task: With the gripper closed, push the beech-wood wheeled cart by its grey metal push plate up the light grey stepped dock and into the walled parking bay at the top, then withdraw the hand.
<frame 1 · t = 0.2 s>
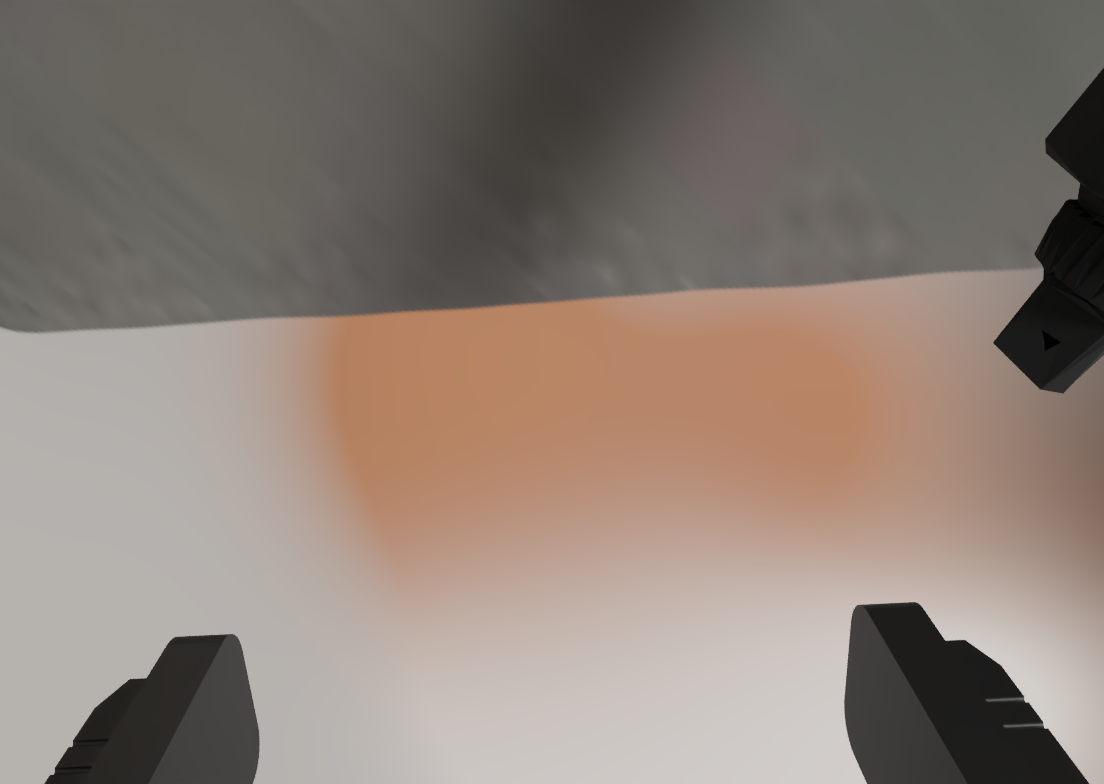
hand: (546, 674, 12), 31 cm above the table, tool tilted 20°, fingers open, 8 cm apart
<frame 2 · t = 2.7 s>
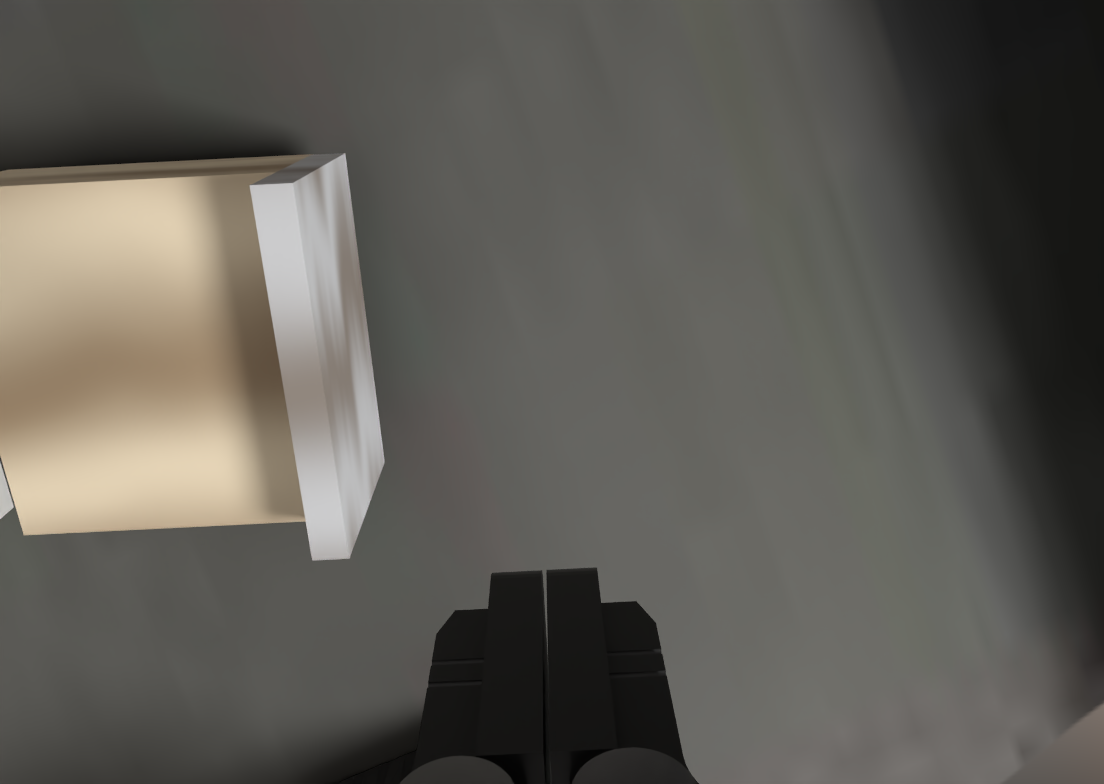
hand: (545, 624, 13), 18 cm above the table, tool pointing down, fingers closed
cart: (181, 347, 26), point 4 cm above the table, slide at 0.0 cm
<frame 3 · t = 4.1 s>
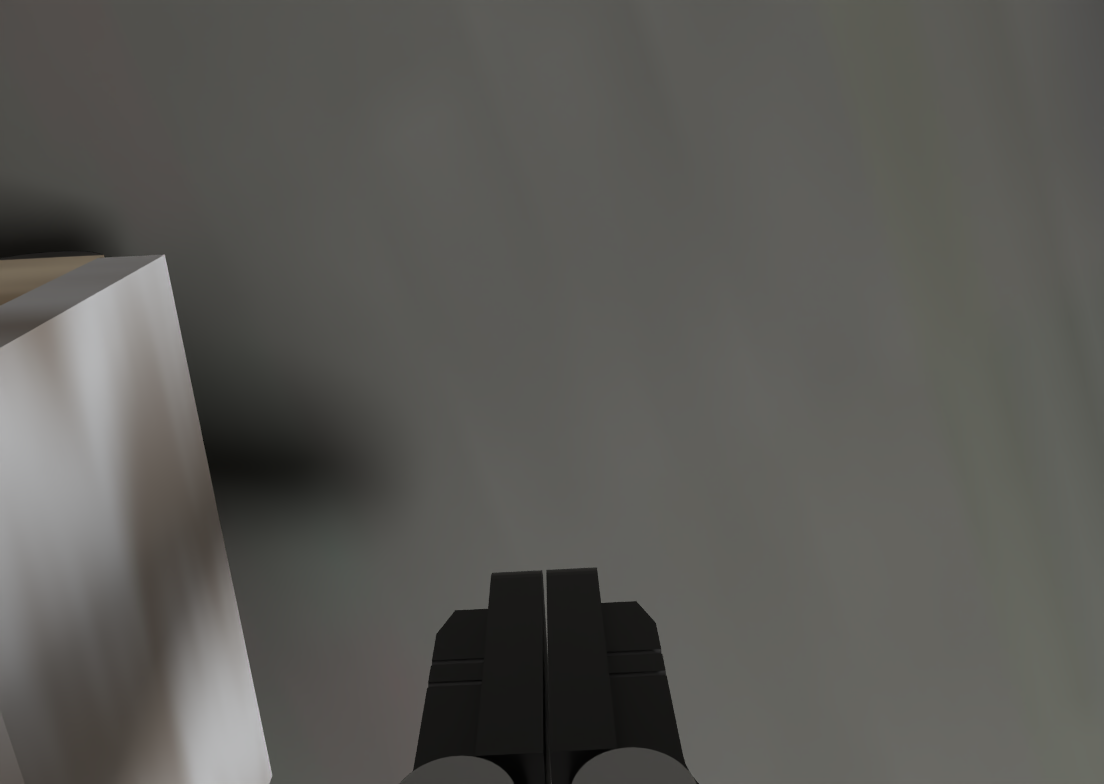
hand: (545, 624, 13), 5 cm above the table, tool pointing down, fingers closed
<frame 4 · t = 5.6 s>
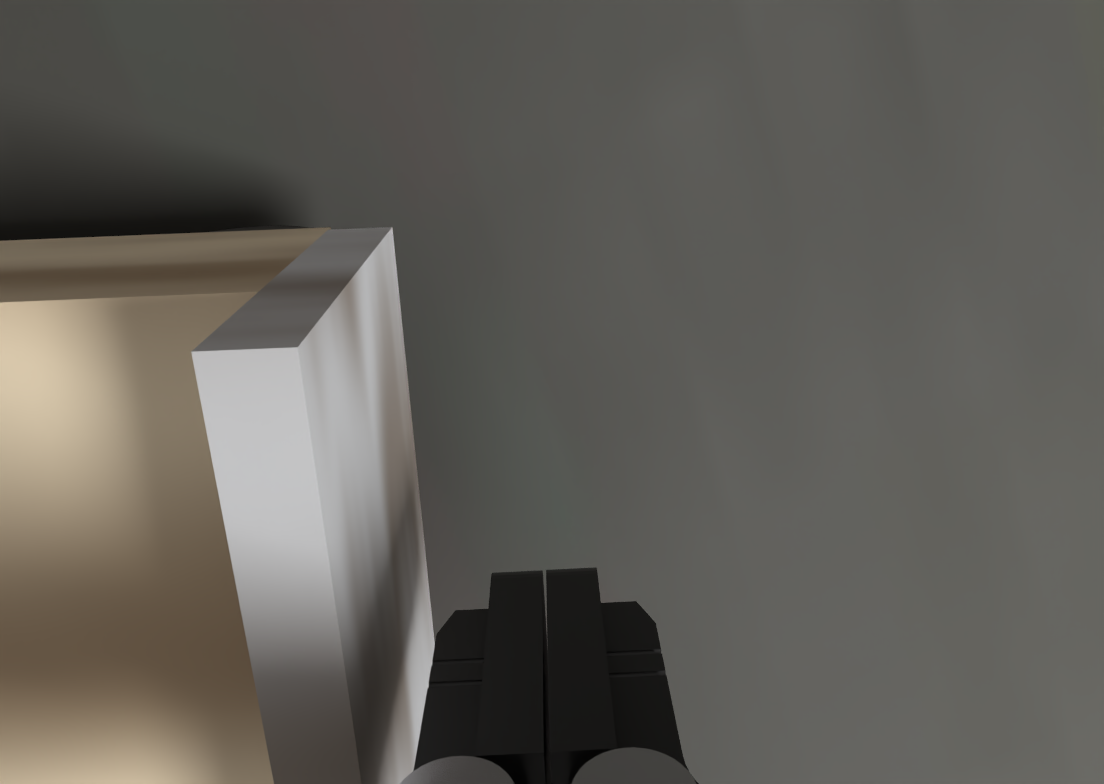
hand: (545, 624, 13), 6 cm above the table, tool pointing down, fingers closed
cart: (79, 591, 14), point 4 cm above the table, slide at 1.3 cm, touching gripper
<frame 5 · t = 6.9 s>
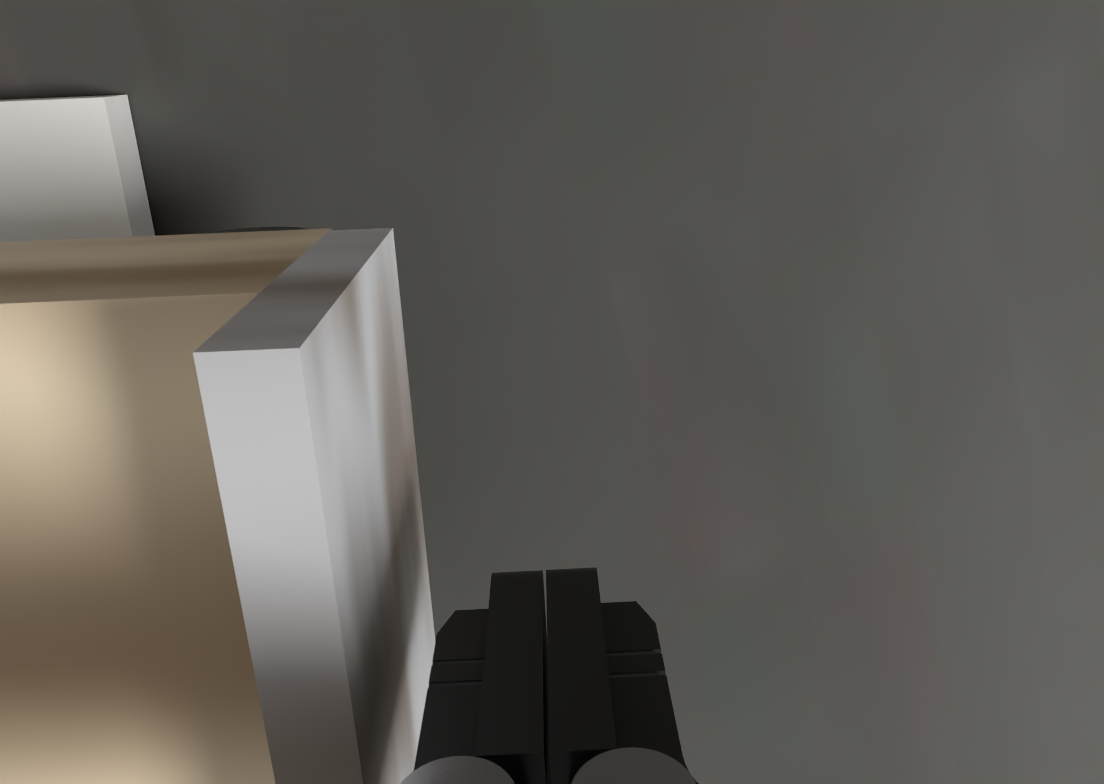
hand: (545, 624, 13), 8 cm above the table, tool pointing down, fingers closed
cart: (80, 593, 14), point 6 cm above the table, slide at 8.8 cm, touching gripper
dock: (79, 433, 20), on the table
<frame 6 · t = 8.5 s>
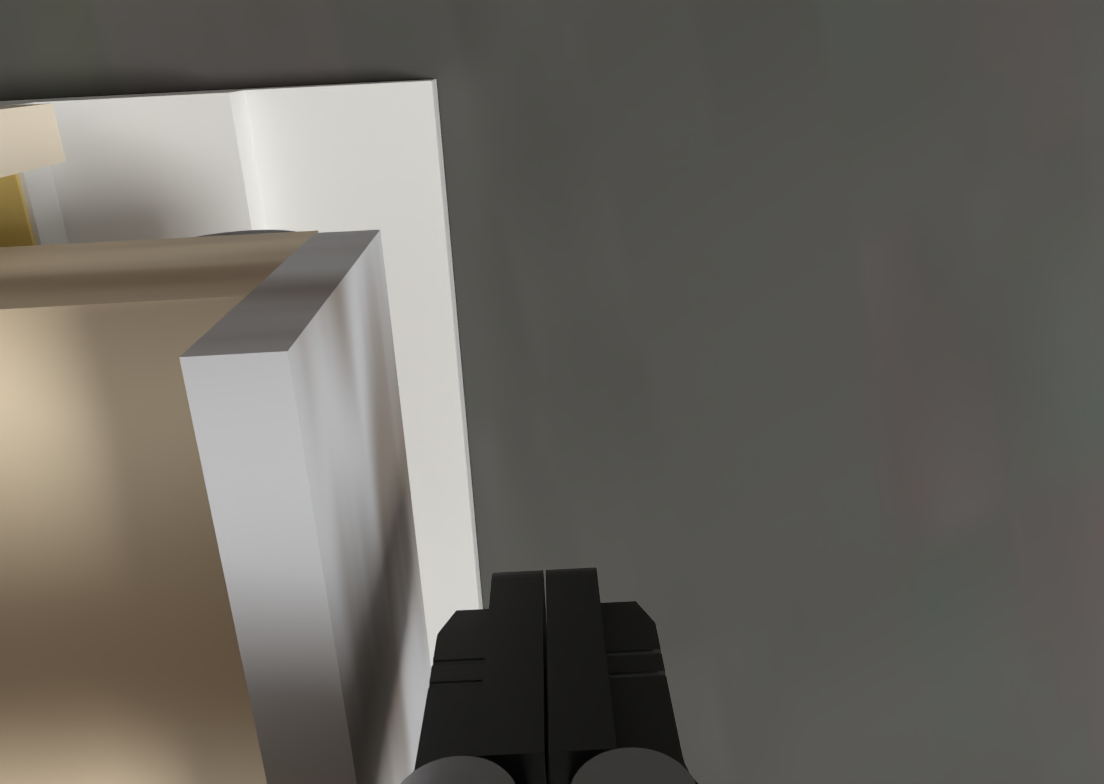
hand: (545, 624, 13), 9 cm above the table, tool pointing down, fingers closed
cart: (67, 602, 14), point 8 cm above the table, slide at 15.1 cm, touching gripper
dock: (357, 398, 21), on the table
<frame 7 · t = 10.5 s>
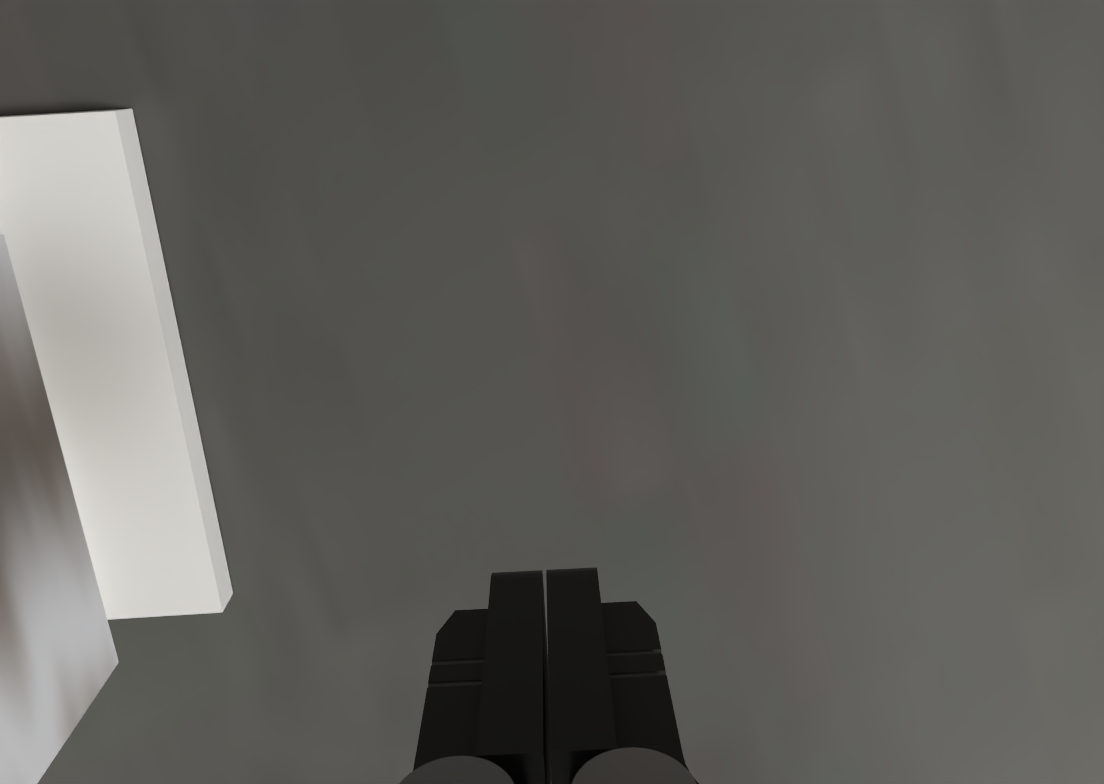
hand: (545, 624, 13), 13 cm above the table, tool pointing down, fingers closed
dock: (96, 380, 25), on the table
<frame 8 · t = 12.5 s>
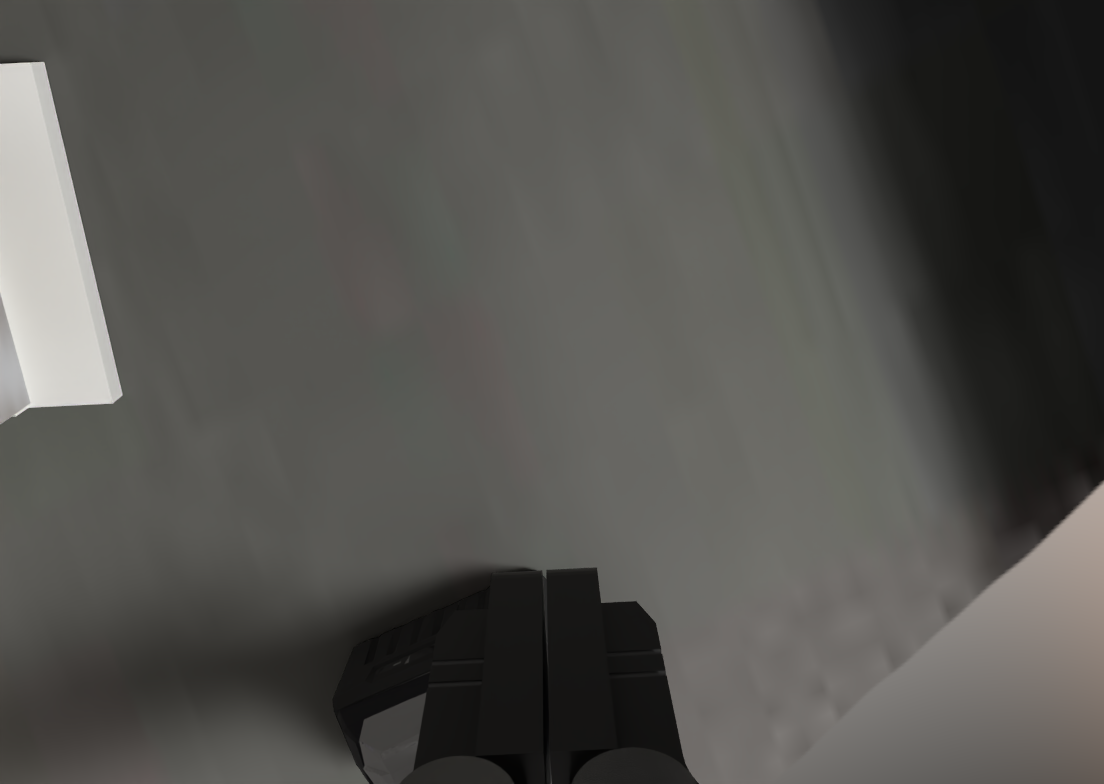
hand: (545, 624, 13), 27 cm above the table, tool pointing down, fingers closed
cordless drill: (408, 688, 47), on the table
dock: (26, 242, 38), on the table
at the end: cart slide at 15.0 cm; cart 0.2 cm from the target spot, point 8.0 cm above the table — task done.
